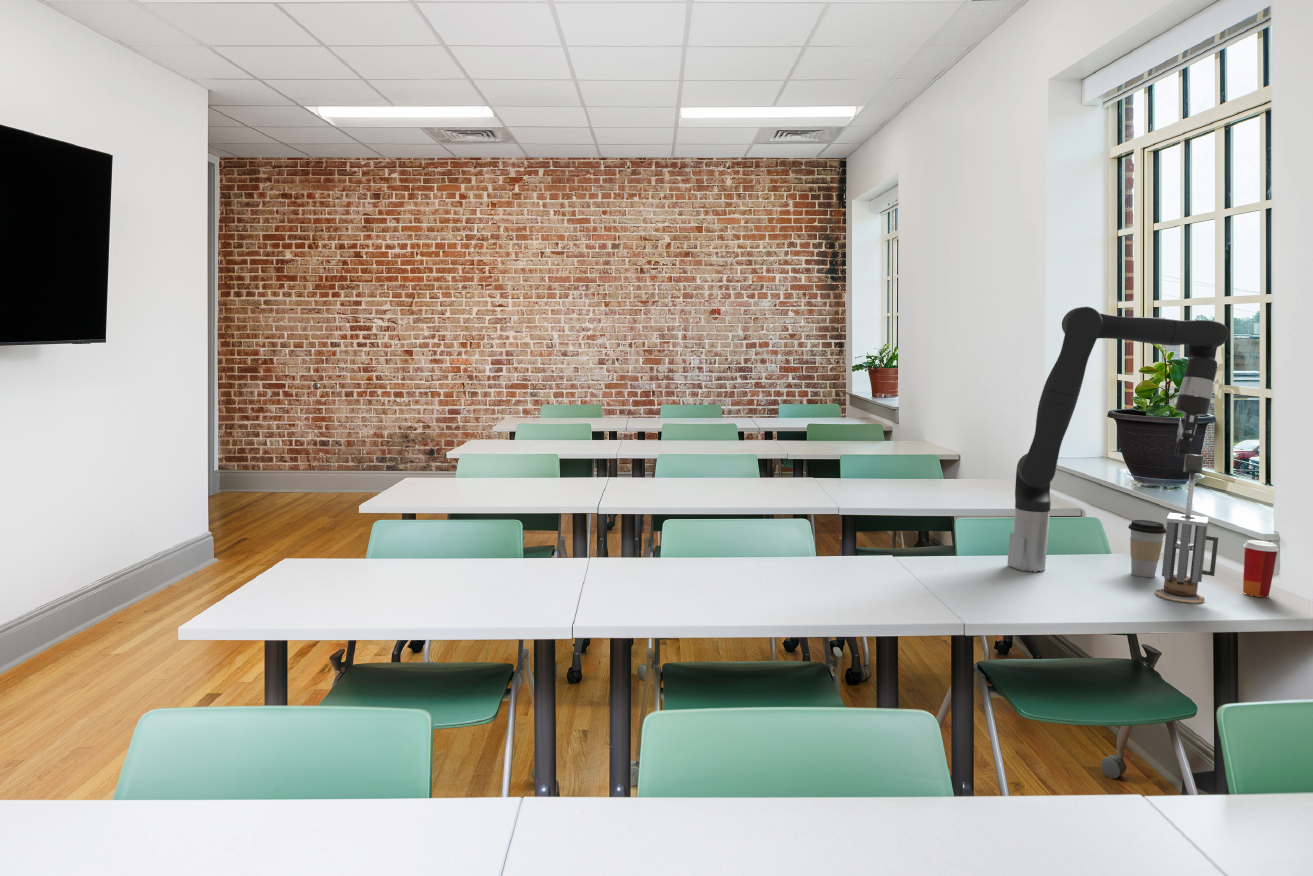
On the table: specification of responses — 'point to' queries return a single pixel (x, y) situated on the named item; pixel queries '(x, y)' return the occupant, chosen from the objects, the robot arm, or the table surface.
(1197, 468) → the plunger
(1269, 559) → the paper cup
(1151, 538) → the coffee cup
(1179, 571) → the press frame
